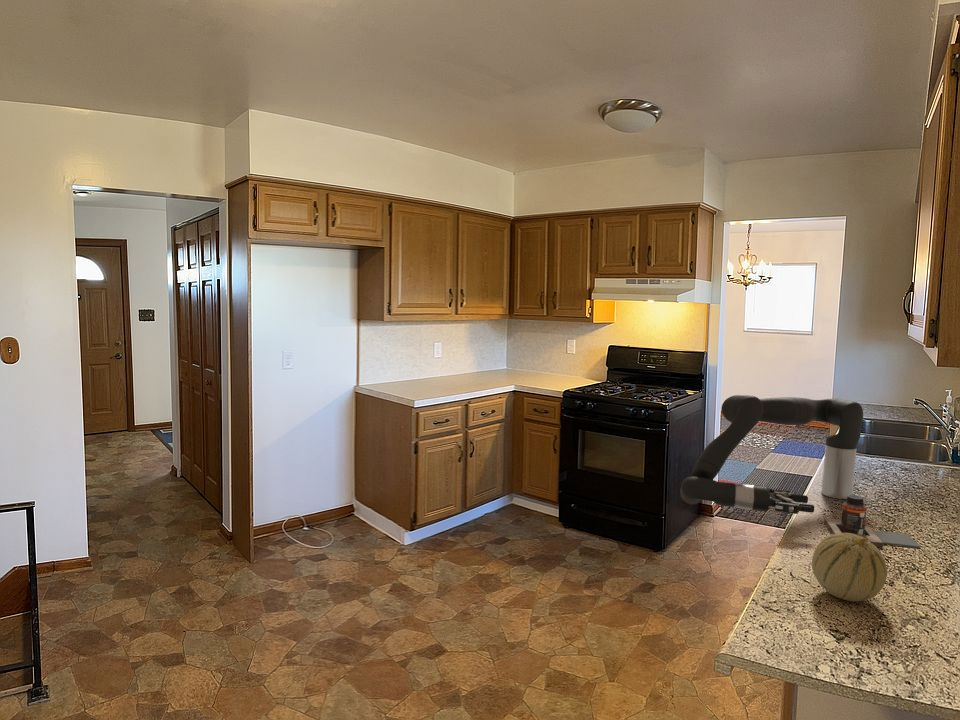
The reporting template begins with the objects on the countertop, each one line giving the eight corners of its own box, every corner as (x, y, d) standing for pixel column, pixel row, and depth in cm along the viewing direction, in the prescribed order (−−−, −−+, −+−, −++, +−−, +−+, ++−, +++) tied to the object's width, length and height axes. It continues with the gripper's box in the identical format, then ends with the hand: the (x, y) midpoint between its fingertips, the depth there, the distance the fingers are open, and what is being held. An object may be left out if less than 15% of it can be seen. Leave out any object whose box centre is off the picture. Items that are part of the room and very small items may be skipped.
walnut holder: (824, 522, 190) (824, 517, 189) (865, 527, 187) (865, 522, 186) (837, 542, 174) (838, 537, 174) (882, 548, 171) (883, 542, 171)
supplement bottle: (867, 539, 177) (871, 501, 176) (844, 537, 178) (847, 499, 177) (859, 532, 183) (862, 494, 181) (836, 530, 184) (840, 492, 183)
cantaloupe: (816, 576, 153) (822, 517, 151) (887, 595, 144) (894, 532, 142) (802, 598, 142) (807, 534, 140) (878, 621, 133) (885, 553, 131)
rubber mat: (872, 532, 183) (872, 530, 183) (908, 536, 180) (908, 534, 180) (882, 543, 174) (882, 542, 174) (920, 548, 172) (920, 546, 172)
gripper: (754, 491, 180) (817, 499, 175) (748, 478, 194) (806, 484, 189) (752, 517, 181) (815, 524, 176) (746, 501, 194) (804, 508, 190)
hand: (810, 504), depth 183 cm, fingers open, 8 cm apart
